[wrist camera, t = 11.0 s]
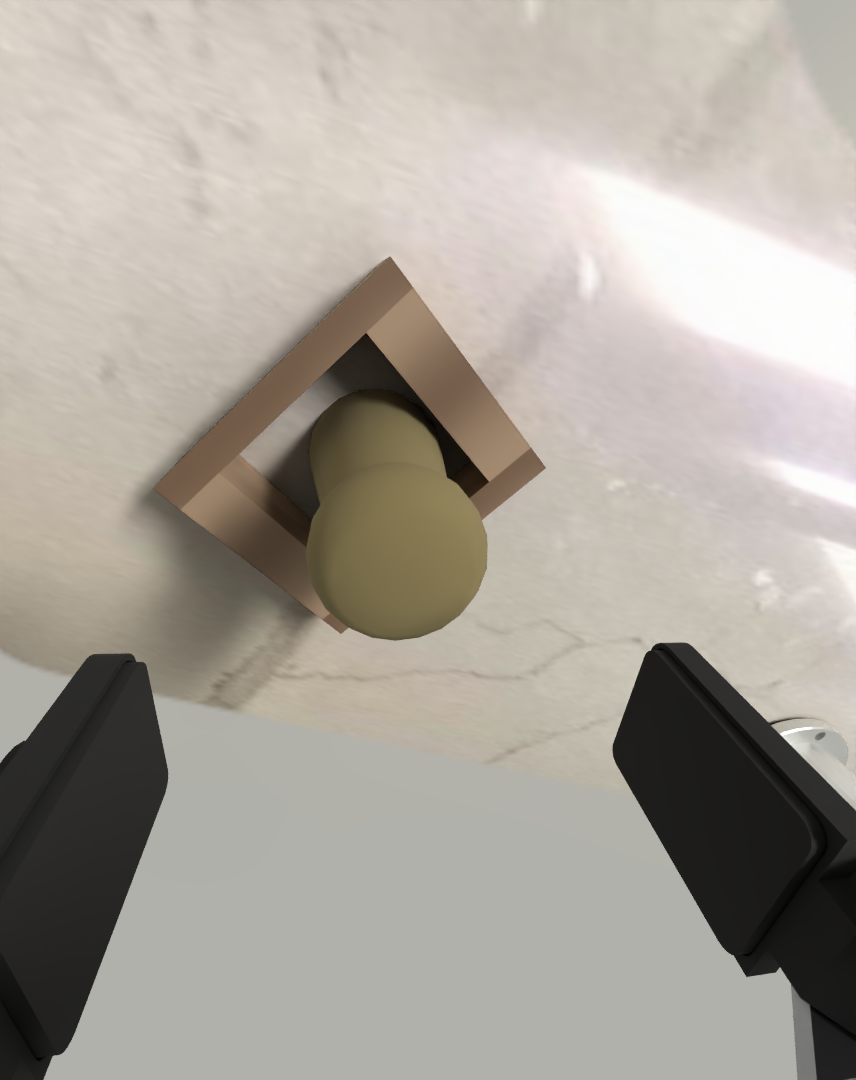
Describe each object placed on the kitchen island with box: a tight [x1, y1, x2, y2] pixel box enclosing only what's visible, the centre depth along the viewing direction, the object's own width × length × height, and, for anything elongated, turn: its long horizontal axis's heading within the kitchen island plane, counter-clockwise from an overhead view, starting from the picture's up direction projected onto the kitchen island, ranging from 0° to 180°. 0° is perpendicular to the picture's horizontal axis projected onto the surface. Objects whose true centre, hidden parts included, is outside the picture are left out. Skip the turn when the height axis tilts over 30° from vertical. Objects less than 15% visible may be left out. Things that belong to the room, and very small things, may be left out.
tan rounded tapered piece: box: [306, 389, 487, 640], centre depth 17 cm, size 6×6×11 cm
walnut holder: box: [153, 257, 546, 634], centre depth 21 cm, size 10×12×3 cm
